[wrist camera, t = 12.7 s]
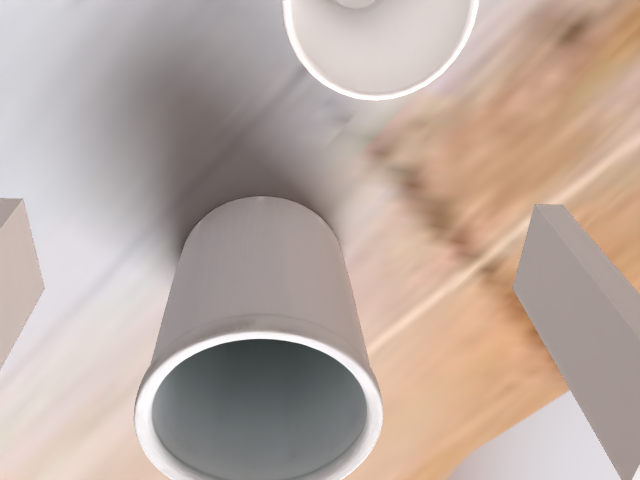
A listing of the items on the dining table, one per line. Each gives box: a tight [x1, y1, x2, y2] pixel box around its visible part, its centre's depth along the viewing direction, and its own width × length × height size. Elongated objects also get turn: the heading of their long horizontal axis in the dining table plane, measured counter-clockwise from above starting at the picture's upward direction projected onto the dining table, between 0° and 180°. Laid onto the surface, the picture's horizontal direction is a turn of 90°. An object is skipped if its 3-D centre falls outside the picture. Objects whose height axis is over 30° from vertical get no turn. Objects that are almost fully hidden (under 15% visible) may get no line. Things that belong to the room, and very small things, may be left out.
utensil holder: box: [134, 196, 383, 480], centre depth 43 cm, size 15×15×18 cm
